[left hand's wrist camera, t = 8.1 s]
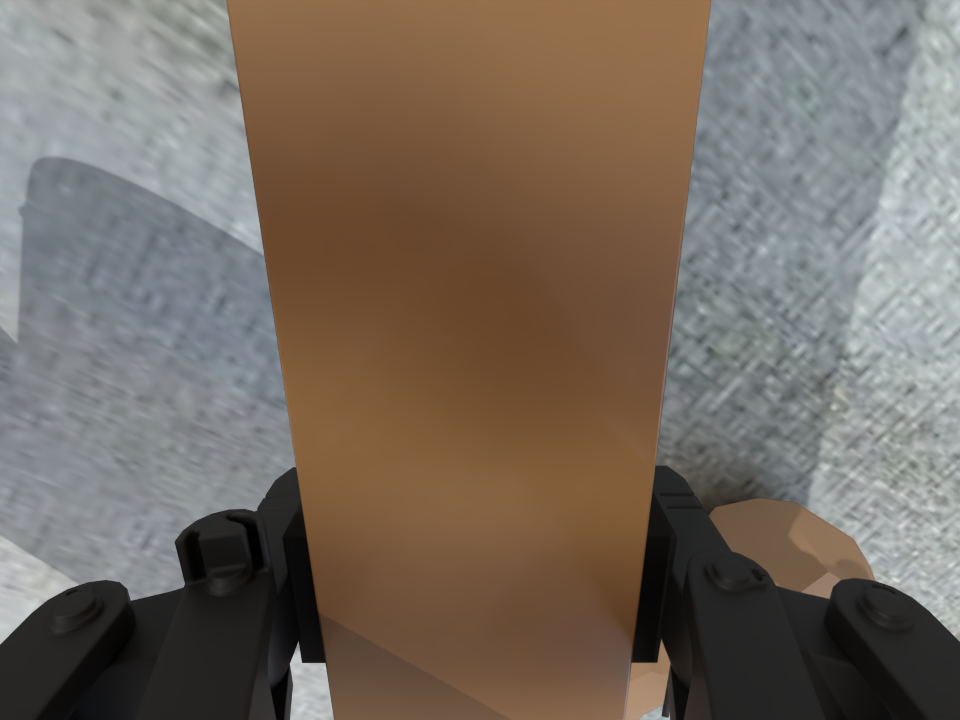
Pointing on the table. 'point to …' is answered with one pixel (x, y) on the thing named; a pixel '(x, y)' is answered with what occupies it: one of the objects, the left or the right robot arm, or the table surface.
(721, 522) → the squash
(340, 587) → the post
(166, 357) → the table surface
